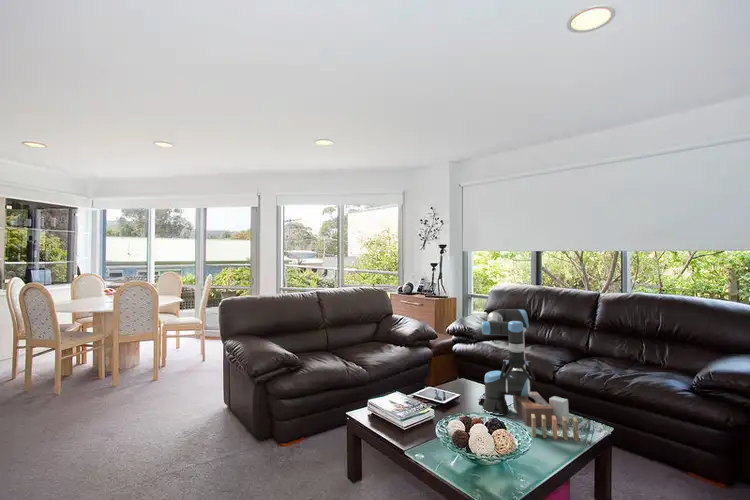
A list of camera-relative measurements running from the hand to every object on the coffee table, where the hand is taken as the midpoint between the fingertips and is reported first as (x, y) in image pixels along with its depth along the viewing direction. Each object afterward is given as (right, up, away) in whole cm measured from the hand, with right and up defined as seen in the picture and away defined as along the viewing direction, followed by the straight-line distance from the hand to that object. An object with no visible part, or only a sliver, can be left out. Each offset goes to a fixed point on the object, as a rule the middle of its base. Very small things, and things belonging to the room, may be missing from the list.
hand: (517, 392), depth 209 cm
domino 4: (+27, -21, -8) cm, 35 cm away
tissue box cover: (+16, -22, +21) cm, 34 cm away
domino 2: (+12, -21, -4) cm, 25 cm away
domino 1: (+8, -22, -2) cm, 23 cm away
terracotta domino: (+17, -21, -5) cm, 28 cm away
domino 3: (+22, -21, -7) cm, 31 cm away
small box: (+28, -21, +12) cm, 37 cm away
